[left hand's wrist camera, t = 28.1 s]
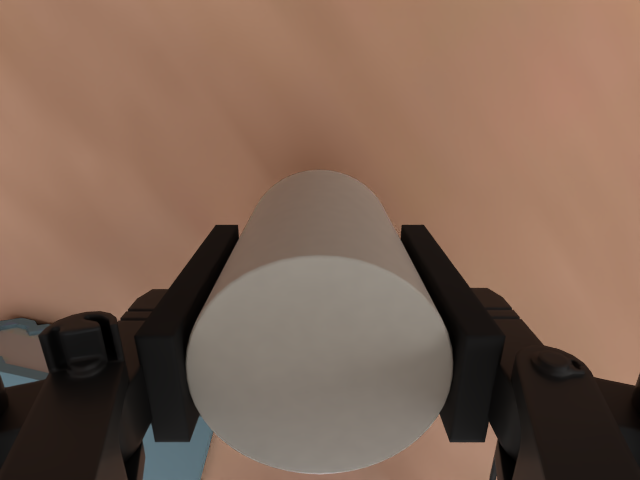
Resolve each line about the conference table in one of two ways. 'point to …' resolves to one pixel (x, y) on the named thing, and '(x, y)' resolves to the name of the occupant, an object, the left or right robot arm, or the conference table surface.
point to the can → (319, 334)
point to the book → (161, 457)
